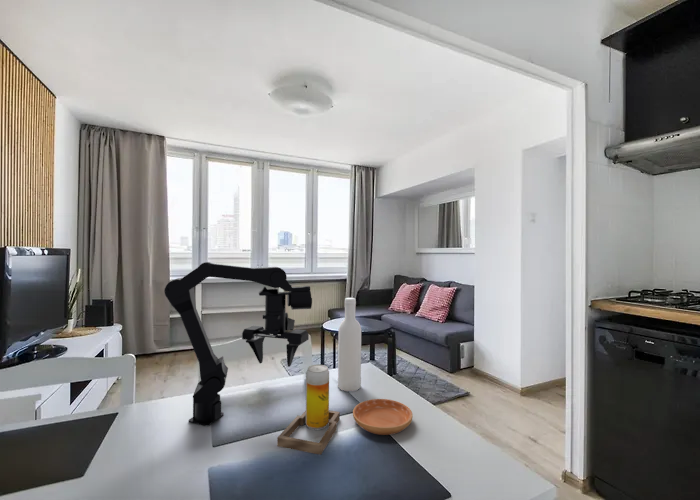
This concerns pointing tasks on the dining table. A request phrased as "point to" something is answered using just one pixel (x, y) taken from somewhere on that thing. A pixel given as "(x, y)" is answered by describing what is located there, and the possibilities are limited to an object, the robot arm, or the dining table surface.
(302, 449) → the brown rectangular frame
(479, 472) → the dining table surface
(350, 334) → the bottle
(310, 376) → the beer can
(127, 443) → the dining table surface
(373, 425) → the saucer
